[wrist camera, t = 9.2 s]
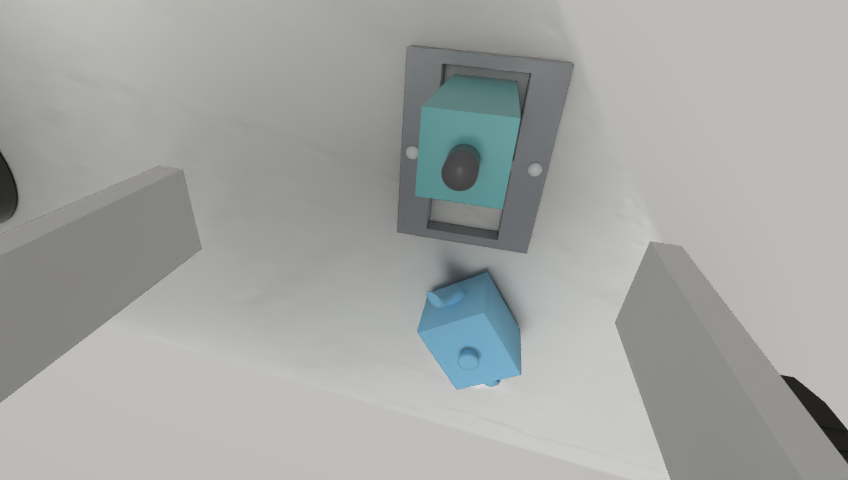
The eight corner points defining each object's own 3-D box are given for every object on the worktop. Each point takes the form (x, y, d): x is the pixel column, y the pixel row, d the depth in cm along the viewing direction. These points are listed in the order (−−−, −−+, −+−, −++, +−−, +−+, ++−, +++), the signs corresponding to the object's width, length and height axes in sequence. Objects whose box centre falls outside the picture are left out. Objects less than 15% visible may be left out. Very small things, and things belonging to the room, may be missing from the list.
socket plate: (401, 224, 35) (396, 233, 34) (411, 45, 28) (406, 46, 27) (525, 244, 34) (526, 254, 32) (570, 62, 27) (574, 64, 25)
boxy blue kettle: (412, 259, 37) (392, 310, 31) (471, 236, 35) (462, 286, 28) (470, 349, 41) (463, 411, 35) (526, 334, 39) (529, 398, 32)
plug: (447, 136, 31) (406, 212, 19) (453, 73, 28) (412, 115, 16) (505, 143, 30) (501, 227, 18) (517, 81, 28) (521, 129, 16)
